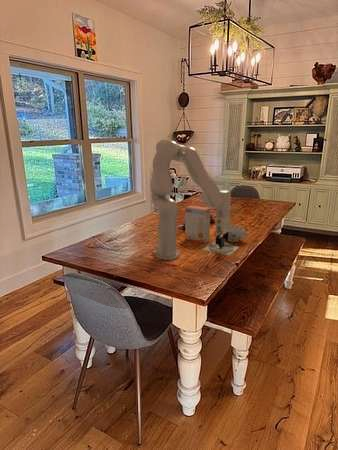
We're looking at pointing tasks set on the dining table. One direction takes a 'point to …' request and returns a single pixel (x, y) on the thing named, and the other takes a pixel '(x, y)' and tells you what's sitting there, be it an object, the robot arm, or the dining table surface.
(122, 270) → the dining table surface
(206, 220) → the cracker box
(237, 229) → the teacup
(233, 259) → the dining table surface
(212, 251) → the mat
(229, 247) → the lid
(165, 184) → the robot arm
